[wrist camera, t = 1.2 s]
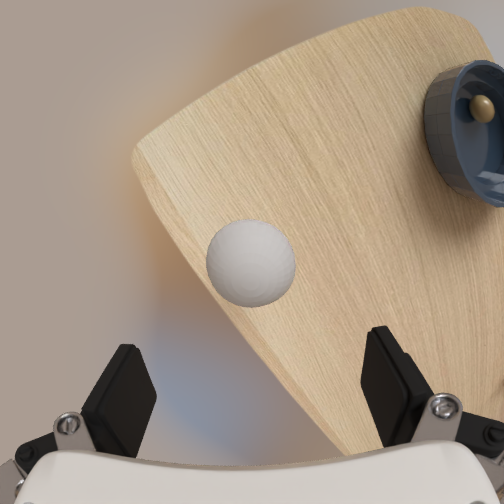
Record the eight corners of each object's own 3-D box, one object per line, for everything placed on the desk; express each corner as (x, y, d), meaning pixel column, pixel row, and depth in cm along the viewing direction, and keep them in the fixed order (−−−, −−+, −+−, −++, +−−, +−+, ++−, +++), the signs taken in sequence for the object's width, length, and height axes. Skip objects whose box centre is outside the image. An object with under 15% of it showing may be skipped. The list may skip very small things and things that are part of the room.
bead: (461, 93, 25) (479, 91, 21) (480, 98, 25) (497, 96, 21) (465, 121, 26) (483, 120, 23) (483, 124, 26) (501, 125, 22)
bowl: (412, 57, 24) (438, 44, 19) (503, 82, 24) (530, 79, 18) (424, 198, 30) (452, 208, 24) (510, 197, 29) (537, 207, 24)
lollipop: (291, 229, 32) (320, 293, 17) (247, 259, 33) (241, 341, 19) (258, 182, 30) (260, 209, 16) (212, 215, 31) (178, 268, 17)
